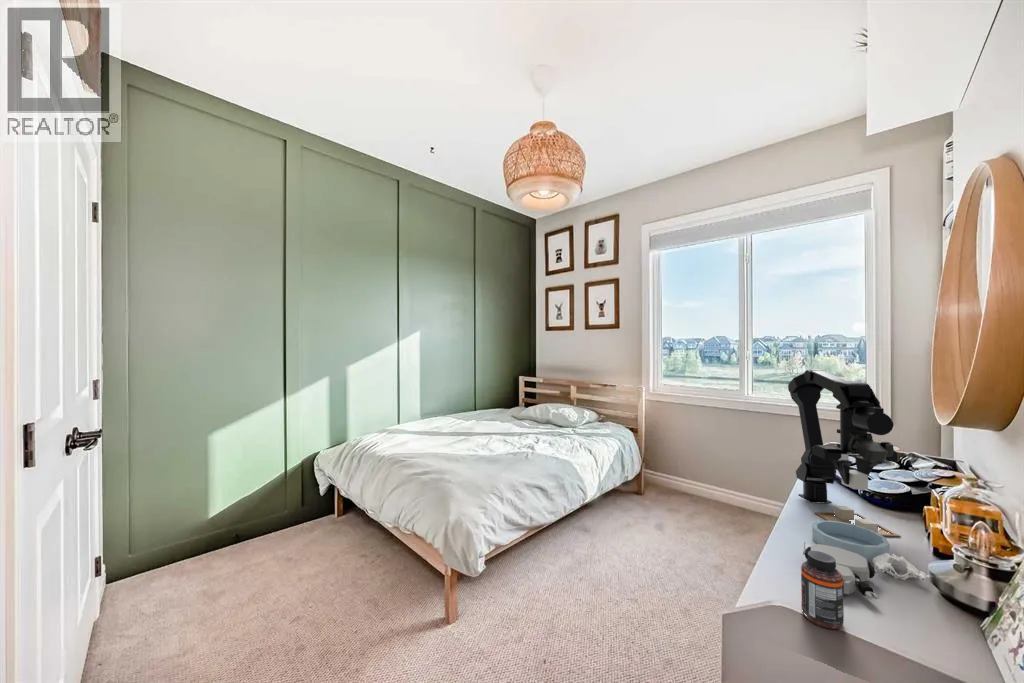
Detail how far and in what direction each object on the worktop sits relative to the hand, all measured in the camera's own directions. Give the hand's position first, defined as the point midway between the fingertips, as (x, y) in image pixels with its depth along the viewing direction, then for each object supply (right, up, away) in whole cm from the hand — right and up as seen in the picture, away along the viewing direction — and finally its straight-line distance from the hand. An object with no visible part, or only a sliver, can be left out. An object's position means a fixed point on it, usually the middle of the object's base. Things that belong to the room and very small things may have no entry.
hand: (854, 484), depth 109 cm
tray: (0, -12, 0) cm, 12 cm away
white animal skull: (-11, -11, -24) cm, 29 cm away
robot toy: (-26, -11, -26) cm, 38 cm away
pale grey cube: (-1, -11, -4) cm, 12 cm away
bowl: (-12, -11, -12) cm, 20 cm away
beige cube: (0, -1, 0) cm, 1 cm away
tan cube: (+1, -11, +4) cm, 12 cm away
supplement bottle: (-39, -11, -38) cm, 56 cm away
